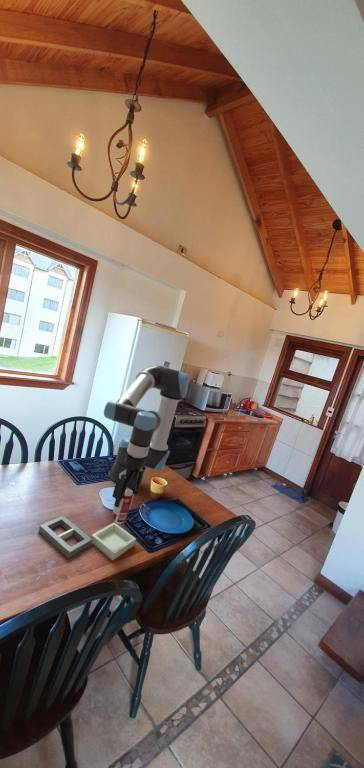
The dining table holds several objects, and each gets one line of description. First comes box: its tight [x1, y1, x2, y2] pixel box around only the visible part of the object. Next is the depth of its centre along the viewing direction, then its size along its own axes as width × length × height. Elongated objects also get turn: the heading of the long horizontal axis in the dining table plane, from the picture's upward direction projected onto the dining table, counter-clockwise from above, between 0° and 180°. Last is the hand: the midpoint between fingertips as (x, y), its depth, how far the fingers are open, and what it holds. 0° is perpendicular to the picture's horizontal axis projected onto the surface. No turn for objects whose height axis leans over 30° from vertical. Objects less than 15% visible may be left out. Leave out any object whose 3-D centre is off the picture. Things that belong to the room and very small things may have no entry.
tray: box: [90, 522, 137, 561], centre depth 117 cm, size 12×12×3 cm
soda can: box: [112, 487, 134, 525], centre depth 115 cm, size 5×5×12 cm
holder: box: [38, 515, 92, 559], centre depth 113 cm, size 17×10×2 cm, turn 59°
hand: (121, 510), depth 115 cm, fingers closed on soda can, 5 cm apart
